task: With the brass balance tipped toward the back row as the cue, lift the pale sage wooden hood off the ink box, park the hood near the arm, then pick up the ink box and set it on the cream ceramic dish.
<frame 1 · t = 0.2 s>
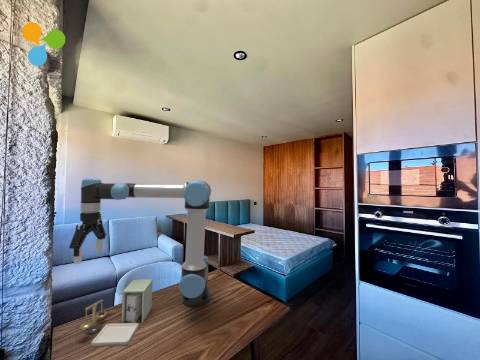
hand: (88, 257, 94), 27 cm above the table, fingers open, 13 cm apart
ink box: (136, 316, 95), on the table
dish: (116, 335, 83), on the table
hood: (136, 316, 95), on the table
balance: (93, 330, 86), on the table
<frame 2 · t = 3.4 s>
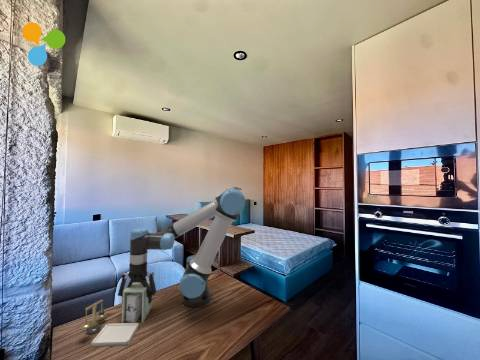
hand: (136, 309, 95), 3 cm above the table, fingers closed on hood, 9 cm apart
hood: (136, 316, 95), on the table, touching gripper
everything else where it was.
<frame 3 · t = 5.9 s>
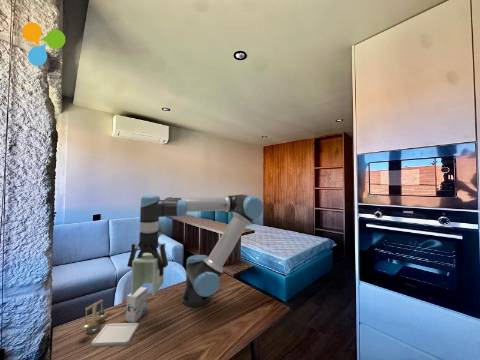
hand: (147, 282, 88), 20 cm above the table, fingers closed on hood, 9 cm apart
hood: (147, 289, 88), point 17 cm above the table, touching gripper
everything else where it was.
when the fingers open (4 cm above the table, at t = 8.4 s): hood drops 1 cm, on the table.
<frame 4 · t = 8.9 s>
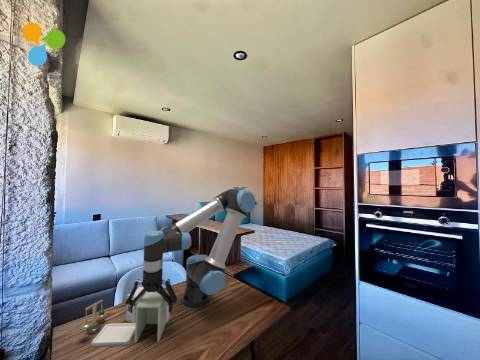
hand: (151, 319, 85), 6 cm above the table, fingers open, 13 cm apart
hood: (150, 333, 85), on the table
everything else where it was.
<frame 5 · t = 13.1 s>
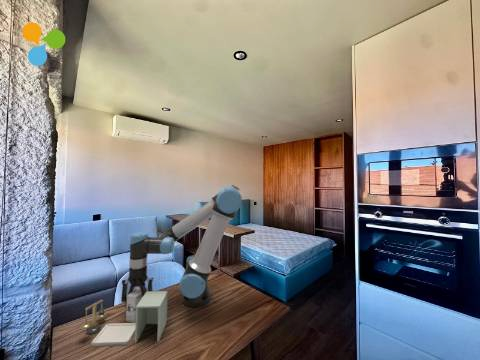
hand: (136, 315, 95), 0 cm above the table, fingers closed on ink box, 6 cm apart
ink box: (136, 316, 95), on the table, touching gripper
everything else where it was.
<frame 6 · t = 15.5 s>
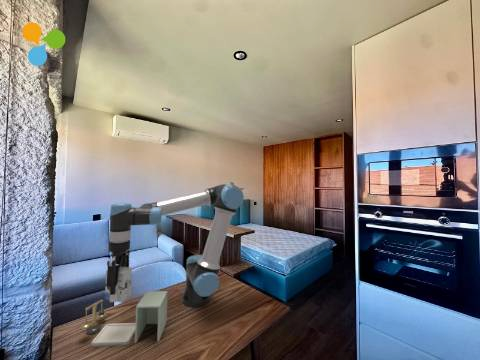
hand: (117, 296, 84), 16 cm above the table, fingers closed on ink box, 6 cm apart
ink box: (118, 298, 84), point 15 cm above the table, touching gripper
everything else where it was.
when the fingers open (2 cm above the table, at t = 18.3 s): ink box stays where it is, resting on dish.
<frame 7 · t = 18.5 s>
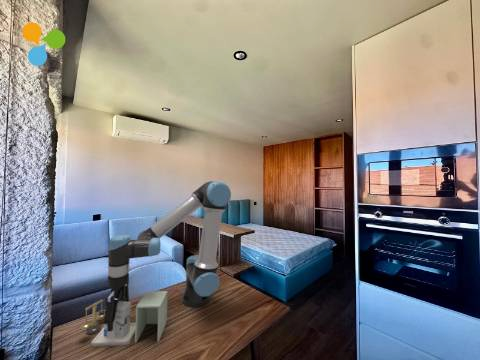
hand: (116, 329, 83), 2 cm above the table, fingers open, 8 cm apart
ink box: (117, 333, 83), point 1 cm above the table, touching dish
everything else where it was.
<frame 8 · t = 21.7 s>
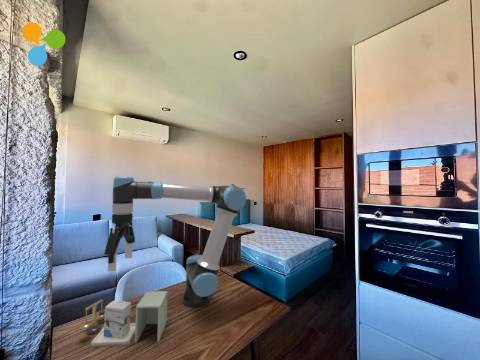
hand: (120, 263, 85), 29 cm above the table, fingers open, 13 cm apart
nothing on the table moved.
at the end: ink box inside the target area on the dish (0.2 cm from its centre), point 0.6 cm above the dish's base; ink box tilted 0°; hood moved 15.6 cm from its start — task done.
